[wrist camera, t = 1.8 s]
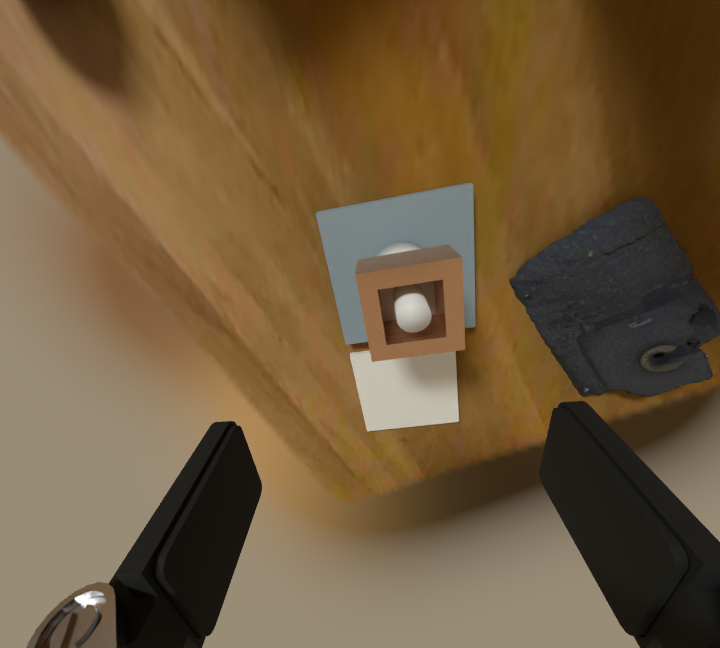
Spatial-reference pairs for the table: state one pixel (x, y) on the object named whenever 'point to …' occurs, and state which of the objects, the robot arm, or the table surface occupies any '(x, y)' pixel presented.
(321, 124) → the table surface
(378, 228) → the post stand
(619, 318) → the dark pouch with grommet
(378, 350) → the copper link
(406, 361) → the white mat
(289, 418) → the table surface
